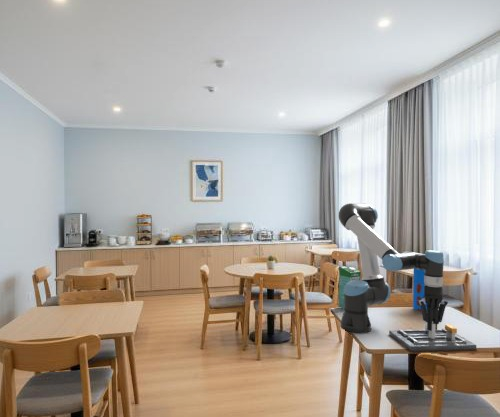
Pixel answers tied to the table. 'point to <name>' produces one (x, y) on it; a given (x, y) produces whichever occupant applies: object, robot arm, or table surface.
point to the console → (430, 340)
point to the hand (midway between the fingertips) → (431, 337)
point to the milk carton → (346, 280)
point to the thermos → (418, 288)
